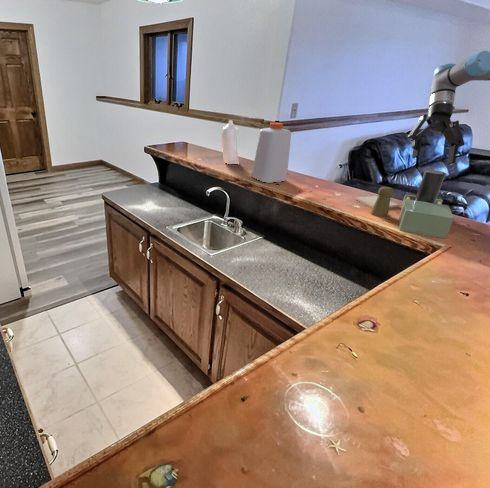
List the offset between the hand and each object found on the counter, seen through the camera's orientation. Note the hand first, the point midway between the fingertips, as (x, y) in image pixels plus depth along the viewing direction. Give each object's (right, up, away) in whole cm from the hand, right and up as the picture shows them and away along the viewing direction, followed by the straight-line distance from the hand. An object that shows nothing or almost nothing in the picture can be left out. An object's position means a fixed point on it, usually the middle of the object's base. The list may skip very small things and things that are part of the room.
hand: (433, 160), depth 132 cm
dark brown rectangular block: (-2, -19, +4) cm, 20 cm away
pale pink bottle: (-62, +17, +81) cm, 104 cm away
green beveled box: (-8, -26, -4) cm, 27 cm away
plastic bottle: (-47, +2, +51) cm, 69 cm away
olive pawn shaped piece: (-16, -20, +7) cm, 27 cm away
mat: (-10, -14, +19) cm, 26 cm away
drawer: (-1, -20, +6) cm, 21 cm away
